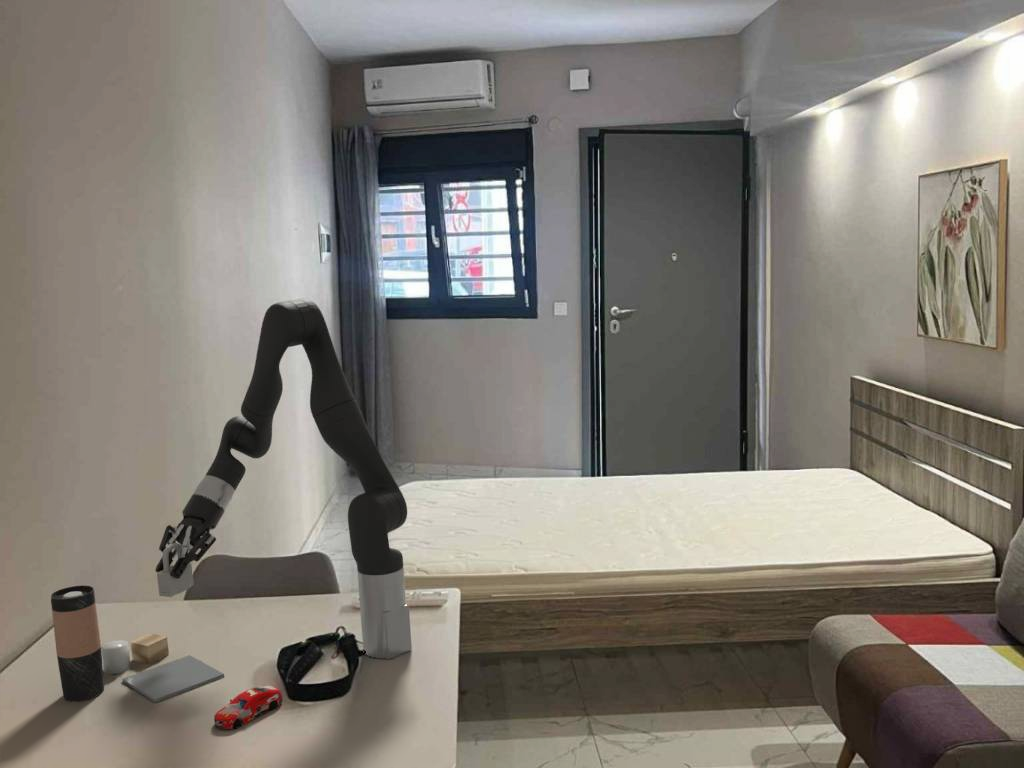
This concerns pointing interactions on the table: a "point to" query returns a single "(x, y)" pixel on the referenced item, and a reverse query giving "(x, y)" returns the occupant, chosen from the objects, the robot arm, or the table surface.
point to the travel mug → (77, 642)
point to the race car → (248, 707)
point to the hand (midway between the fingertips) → (166, 574)
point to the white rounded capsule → (115, 657)
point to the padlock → (167, 582)
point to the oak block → (149, 648)
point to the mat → (172, 678)
